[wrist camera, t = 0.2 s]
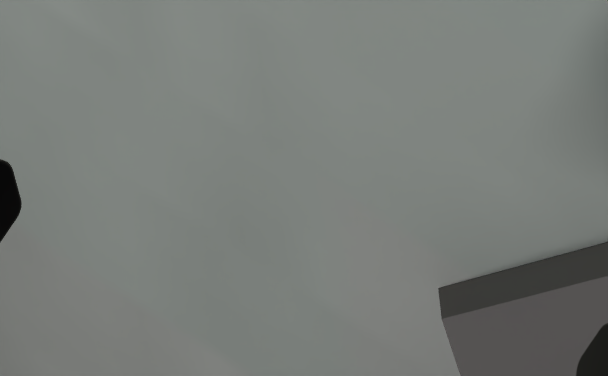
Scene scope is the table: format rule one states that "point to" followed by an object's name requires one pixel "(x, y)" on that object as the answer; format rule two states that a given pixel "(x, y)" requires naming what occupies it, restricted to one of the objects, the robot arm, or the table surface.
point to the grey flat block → (528, 316)
